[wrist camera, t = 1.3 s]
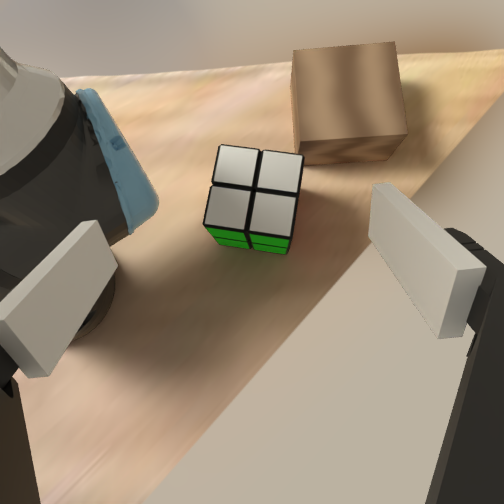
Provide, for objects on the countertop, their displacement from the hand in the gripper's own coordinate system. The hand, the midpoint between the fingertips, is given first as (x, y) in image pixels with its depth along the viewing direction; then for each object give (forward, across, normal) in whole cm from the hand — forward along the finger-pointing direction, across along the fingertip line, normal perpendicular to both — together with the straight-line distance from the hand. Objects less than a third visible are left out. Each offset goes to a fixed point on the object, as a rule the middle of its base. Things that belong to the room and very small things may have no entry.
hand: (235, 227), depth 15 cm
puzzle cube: (+26, 0, -12) cm, 29 cm away
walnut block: (+35, +14, -3) cm, 38 cm away
